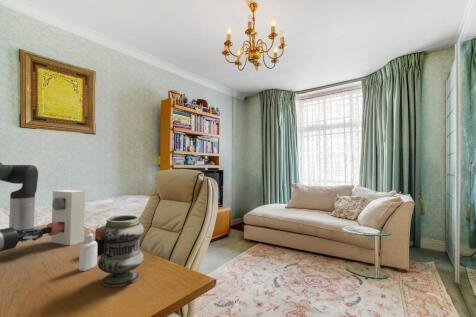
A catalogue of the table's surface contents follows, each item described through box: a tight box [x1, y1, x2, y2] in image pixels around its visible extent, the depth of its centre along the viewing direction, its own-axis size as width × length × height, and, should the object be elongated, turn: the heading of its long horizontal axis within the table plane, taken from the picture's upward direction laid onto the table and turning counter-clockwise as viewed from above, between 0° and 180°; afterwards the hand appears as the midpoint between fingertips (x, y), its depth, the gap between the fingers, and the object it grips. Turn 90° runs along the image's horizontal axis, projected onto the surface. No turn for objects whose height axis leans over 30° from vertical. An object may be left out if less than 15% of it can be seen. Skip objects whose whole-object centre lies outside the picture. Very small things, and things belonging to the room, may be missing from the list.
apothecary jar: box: [97, 214, 145, 288], centre depth 72 cm, size 12×12×18 cm
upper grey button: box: [52, 198, 65, 210], centre depth 106 cm, size 7×5×5 cm
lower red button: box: [46, 222, 65, 237], centre depth 104 cm, size 7×5×5 cm
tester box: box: [50, 189, 86, 246], centre depth 107 cm, size 6×12×22 cm, turn 69°
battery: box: [94, 225, 105, 256], centre depth 95 cm, size 4×7×10 cm, turn 138°
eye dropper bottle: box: [78, 230, 98, 272], centre depth 80 cm, size 4×6×12 cm
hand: (50, 229), depth 100 cm, fingers closed
